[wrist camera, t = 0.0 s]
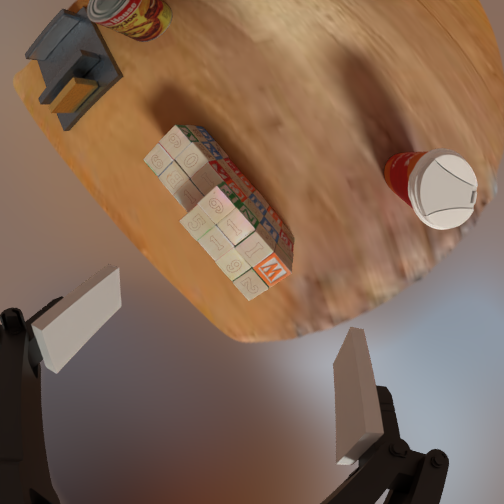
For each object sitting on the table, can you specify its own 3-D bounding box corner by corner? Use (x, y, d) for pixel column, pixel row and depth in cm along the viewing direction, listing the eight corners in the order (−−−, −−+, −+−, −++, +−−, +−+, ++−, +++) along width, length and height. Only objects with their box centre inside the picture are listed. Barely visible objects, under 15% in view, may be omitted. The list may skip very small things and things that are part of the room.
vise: (123, 76, 36) (99, 70, 31) (69, 130, 41) (44, 132, 35) (88, 8, 31) (67, 0, 25) (41, 59, 36) (20, 56, 30)
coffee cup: (430, 151, 33) (486, 159, 20) (423, 205, 36) (473, 238, 23) (377, 140, 34) (417, 140, 21) (372, 197, 38) (406, 227, 24)
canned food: (128, 46, 34) (82, 29, 23) (133, 9, 31) (91, -13, 20) (170, 36, 33) (129, 11, 22) (174, -2, 30) (138, -32, 19)
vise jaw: (108, 76, 35) (86, 72, 30) (65, 121, 39) (43, 122, 34) (96, 52, 34) (75, 46, 28) (55, 97, 37) (33, 96, 32)
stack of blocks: (173, 154, 40) (128, 160, 29) (203, 125, 38) (164, 121, 27) (263, 261, 44) (248, 303, 33) (296, 238, 42) (292, 275, 31)
